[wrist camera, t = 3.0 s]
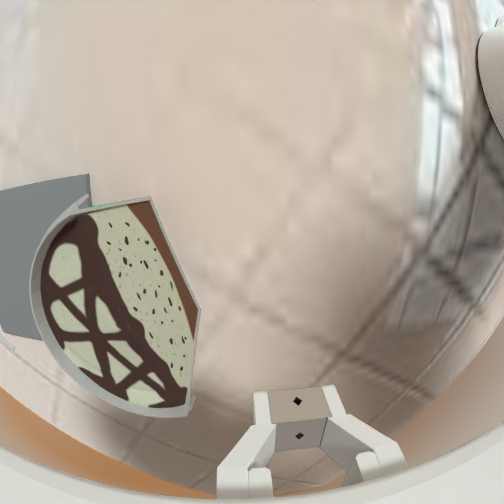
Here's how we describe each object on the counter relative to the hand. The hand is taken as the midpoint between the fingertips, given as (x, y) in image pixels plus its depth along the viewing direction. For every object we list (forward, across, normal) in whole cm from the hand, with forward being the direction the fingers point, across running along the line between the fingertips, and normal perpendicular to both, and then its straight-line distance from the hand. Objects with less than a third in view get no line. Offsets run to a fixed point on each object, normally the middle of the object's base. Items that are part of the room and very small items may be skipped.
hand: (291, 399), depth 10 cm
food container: (+13, +9, -1) cm, 16 cm away
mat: (+13, +21, 0) cm, 24 cm away
